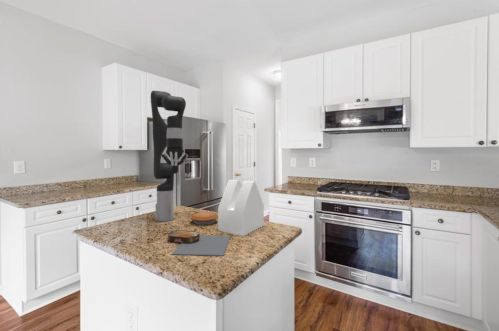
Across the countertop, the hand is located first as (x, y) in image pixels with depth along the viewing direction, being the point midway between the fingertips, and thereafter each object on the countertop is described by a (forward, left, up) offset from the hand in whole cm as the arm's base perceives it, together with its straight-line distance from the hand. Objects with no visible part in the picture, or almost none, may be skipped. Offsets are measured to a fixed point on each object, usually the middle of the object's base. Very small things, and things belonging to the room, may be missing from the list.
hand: (175, 173), depth 119 cm
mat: (+18, -16, -29) cm, 38 cm away
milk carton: (+32, +8, -29) cm, 44 cm away
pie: (+10, +18, -29) cm, 36 cm away
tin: (+6, -15, -28) cm, 32 cm away
